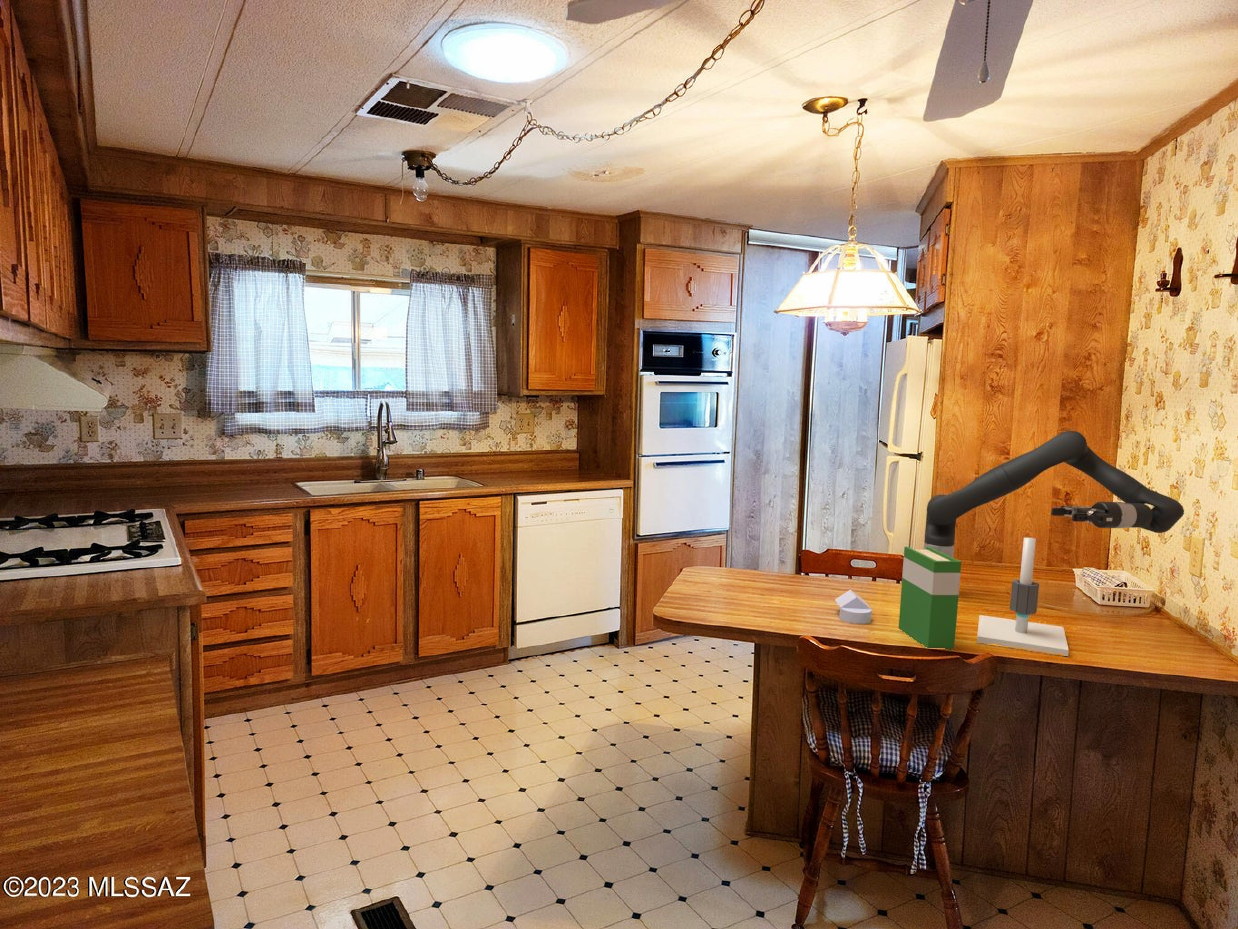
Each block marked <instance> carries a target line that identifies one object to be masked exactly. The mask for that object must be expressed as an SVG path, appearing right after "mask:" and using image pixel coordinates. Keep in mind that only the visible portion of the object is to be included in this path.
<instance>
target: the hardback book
mask: <svg viewBox="0 0 1238 929" xmlns="http://www.w3.org/2000/svg"><path fill="white" fill-rule="evenodd" d="M903 550H904V551H903V563H902V564H903V565H902V577H901V591H900V592H901V594H900V600H899V601H900V604H899V605H900V606H899V616H898V617H899V618H898V629H899V630H900V631H901V630H902V631H901V632H903V633H904V632H905V633H906V635H907V634H908V635H909V636H908V635H907V636H908V637H910V638H911V637H912V638H913V639H912V638H911V639H912V640H914V641H915V640H916V641H917V642H916V641H915V642H916V643H918V644H919V643H920V644H923V645H924V646H925V647H927V648H945V649H954V650H955V646H956V645H955V643H956V633H957V622H958V621H957V619H958V609H959V598H960V597H959V596H960V584H961V582H960V581H961V575H962V574H961V573H962V571H961V570H962V560H959V559H956V558H954V557H953V558H952V557H950V556H948V555H946V554H944V553H942V552H940V551H938V550H935V549H933V548H931V547H926V549H924V548H923V549H916V548H915V549H914V548H911V547H910V546H904V549H903ZM905 633H904V634H905ZM920 644H919V645H920ZM925 647H924V648H925Z"/></svg>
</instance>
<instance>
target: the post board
mask: <svg viewBox="0 0 1238 929" xmlns="http://www.w3.org/2000/svg"><path fill="white" fill-rule="evenodd" d="M1036 542H1037V539H1036V538H1035V537H1023V541H1022V553H1021V554H1022V555H1021V565H1020V575H1019V580H1020V583H1021V584H1027V585H1032V581H1033V575H1034V574H1033V573H1034V565H1035V564H1034V562H1035V553H1036ZM978 615H979V618H978V625H977V626H978V628H977V637H976V644H978V643H984V644H983V645H985V644H996V645H1002V646H1008V647H1015V648H1024V649H1029V650H1034V651H1041V652H1047V653H1051V654H1061V655H1064V656H1068V657H1069V646H1068V642H1067V638H1066V633H1065V629H1064V626H1060V625H1059V626H1058V625H1052V624H1045V623H1039V622H1031V621H1029V618H1030V615H1031V614H1022V613H1017V612H1015V616H1016V618H1015V619H1010V618H1005V617H1004V618H1002V617H998V616H997V617H996V616H990V615H989V616H988V615H981V614H978Z"/></svg>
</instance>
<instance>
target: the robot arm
mask: <svg viewBox="0 0 1238 929" xmlns="http://www.w3.org/2000/svg"><path fill="white" fill-rule="evenodd" d="M1064 463H1065V464H1067V465H1069V466H1071V467H1073V468H1074V469H1076V470H1079V471H1080V472H1082V473H1083V474H1086V475H1087V476H1089V478H1092V480H1094V481H1096V482H1097V483H1099V484H1100V485H1101V486H1102V487H1104V488H1105V489H1106V490H1107V491H1108V492H1110V493H1111V494H1112V495H1114V496H1116V497H1117V498H1118V499H1119V500H1121V501H1098V502H1096V503H1094V504H1093V505H1092V506H1091V507H1090V506H1083V507H1082V506H1079V505H1078V506H1073V505H1072V506H1071V505H1061V506H1060V507H1052V508H1051V510H1050V511H1051V512H1050V513H1051V516H1053V517H1054V516H1056V517H1060V516H1061V517H1069V518H1071V521H1072V522H1081V523H1082V522H1083V523H1084V522H1085V523H1088V524H1093V526H1095V527H1096V528H1097V529H1126V528H1134V529H1135V528H1139V529H1141V530H1142V529H1143V530H1146V531H1149V532H1152V533H1155V534H1162V533H1163V534H1164V533H1166V532H1169V530H1171V529H1172V528H1173V527H1174V526H1175V525H1176V523H1178V521H1179V520H1181V519H1182V517H1183V516H1184V515H1185V509H1184V507H1183V505H1182V504H1181V503H1180V502H1179V501H1178V500H1176V499H1174V498H1172V497H1170V496H1168V495H1165V494H1163V493H1161V492H1160V493H1159V492H1157V491H1155V490H1152V489H1150V488H1149V487H1147V486H1145V485H1144V484H1142V483H1141V482H1140V481H1138V480H1137V479H1136V478H1134V477H1133V476H1131V475H1129V474H1128V473H1126V472H1124V471H1123V470H1121V469H1120V468H1117V467H1115V466H1113V465H1111V464H1110V463H1108V462H1107V461H1105V460H1104V459H1102V458H1101V457H1100V456H1099V455H1098V454H1096V453H1095V452H1094V451H1093V449H1091V447H1090V446H1089V445H1088V442H1087V439H1086V437H1085V436H1084V435H1083V434H1082V433H1080V432H1079V431H1076V430H1066V431H1062V432H1060V433H1057V435H1055V436H1054V437H1051V438H1050V439H1049V440H1047V441H1045V442H1044V443H1043V444H1041V445H1039V446H1037V447H1035V448H1034V449H1032V450H1030V451H1028V452H1025V453H1023V454H1021V455H1019V456H1016V457H1014V458H1011V459H1010V460H1008V461H1005V462H1003V463H1001V464H999V465H996V466H995V467H993V468H991V469H989V470H987V471H986V472H984V473H983V474H981V475H980V476H978V477H977V478H975V479H974V480H973V481H971V482H970V483H968V484H967V485H965V486H964V487H962V488H960V489H958V490H955V491H954V492H951V493H948V494H937V495H934V496H933V497H931V498H930V499H929V501H928V502H927V505H926V516H925V529H924V541H923V542H924V544H923V549H926V547H931V548H933V549H935V550H938V551H940V552H942V553H944V554H946V555H948V556H950V557H952V558H954V552H955V540H956V539H955V538H956V527H957V526H956V525H957V519H958V518H960V517H962V516H964V515H965V514H967V513H968V512H970V511H972V510H973V509H976V508H978V507H980V506H983V505H985V504H989V503H991V502H993V501H995V500H998V499H1001V498H1002V497H1005V496H1008V495H1009V494H1011V493H1013V492H1015V491H1017V490H1019V489H1021V488H1022V487H1024V486H1026V485H1027V484H1028V483H1030V482H1032V480H1034V479H1035V478H1036V477H1038V476H1040V474H1042V473H1043V472H1045V471H1047V470H1049V469H1051V468H1052V467H1055V466H1058V465H1060V464H1064ZM1149 505H1150V506H1152V508H1151V507H1150V506H1149Z"/></svg>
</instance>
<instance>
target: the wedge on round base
mask: <svg viewBox="0 0 1238 929" xmlns="http://www.w3.org/2000/svg"><path fill="white" fill-rule="evenodd" d="M834 600H835V602H836V604H837V605H838V607H839V620H841V621H842V622H846V623H849V624H853V623H855V624H854V625H867V624H870V623H871V622H872V608H871V607H870V606H869V605H868V604H867V601H866V600H864V599H863V598H862V597H860V596H859V595H858V594H857V593H855V592H854V591H853V590H852V589H849V590H848V591H846V592H844V593H843V594H841V595H839V596H838V597H837V598H835V599H834ZM866 623H867V624H866Z"/></svg>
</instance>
